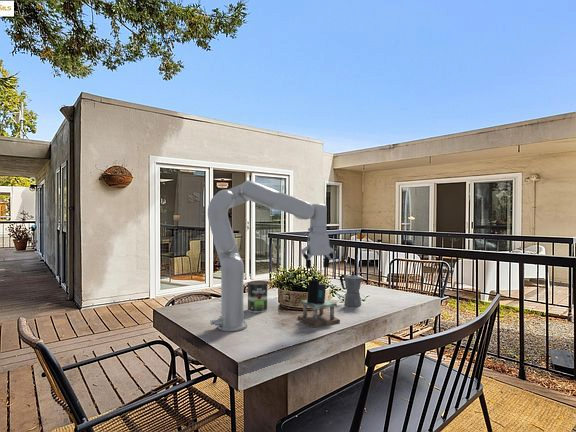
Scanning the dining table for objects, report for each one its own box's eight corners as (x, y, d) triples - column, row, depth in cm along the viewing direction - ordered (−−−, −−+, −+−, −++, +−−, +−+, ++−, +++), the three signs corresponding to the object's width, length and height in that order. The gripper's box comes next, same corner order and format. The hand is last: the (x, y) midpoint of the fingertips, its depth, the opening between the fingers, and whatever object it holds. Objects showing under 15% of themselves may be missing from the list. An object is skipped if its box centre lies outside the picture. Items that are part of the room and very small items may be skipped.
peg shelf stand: (313, 327, 149) (313, 307, 149) (297, 318, 161) (297, 300, 161) (339, 322, 155) (339, 303, 155) (322, 314, 168) (322, 297, 168)
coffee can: (269, 311, 173) (269, 284, 173) (249, 313, 170) (249, 285, 170) (265, 306, 183) (265, 280, 183) (246, 308, 180) (246, 281, 180)
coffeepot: (368, 305, 186) (368, 272, 186) (358, 308, 179) (357, 274, 179) (345, 300, 197) (344, 268, 197) (334, 303, 190) (334, 270, 190)
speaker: (314, 304, 153) (315, 281, 154) (306, 302, 157) (308, 279, 158) (327, 304, 157) (328, 281, 158) (319, 302, 161) (320, 279, 162)
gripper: (306, 231, 151) (305, 269, 151) (338, 231, 159) (337, 267, 159) (297, 230, 157) (297, 267, 157) (329, 230, 165) (328, 265, 165)
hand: (317, 267), depth 158 cm, fingers open, 9 cm apart
